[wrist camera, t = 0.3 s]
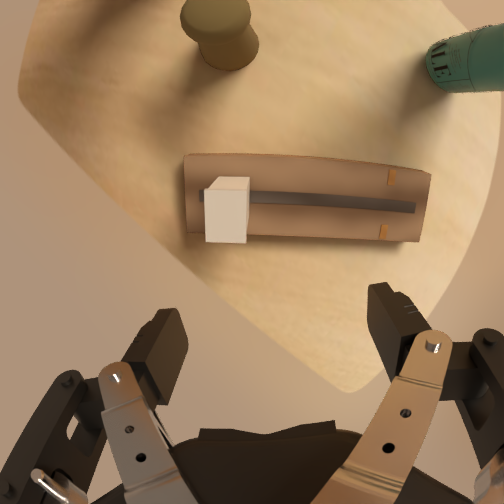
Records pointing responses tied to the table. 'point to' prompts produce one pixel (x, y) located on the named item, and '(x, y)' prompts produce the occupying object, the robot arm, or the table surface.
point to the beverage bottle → (469, 61)
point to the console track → (314, 195)
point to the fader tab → (227, 210)
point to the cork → (221, 31)
